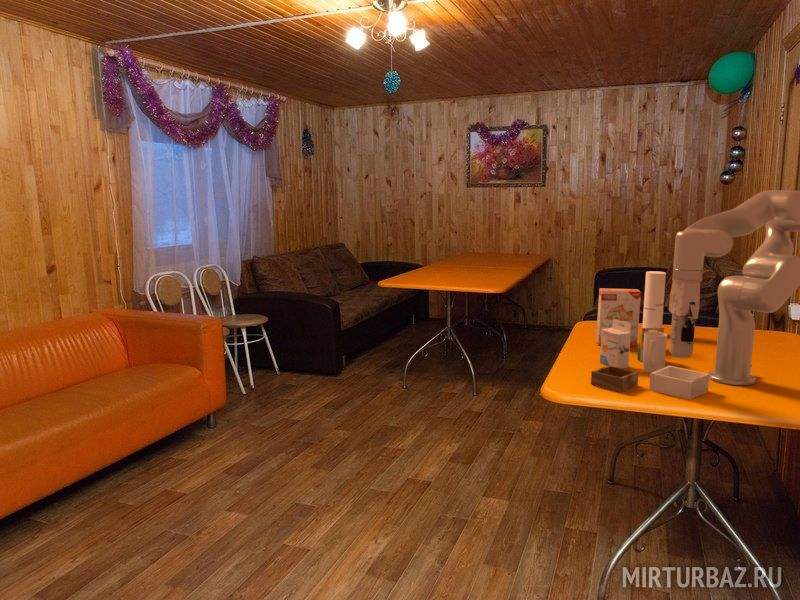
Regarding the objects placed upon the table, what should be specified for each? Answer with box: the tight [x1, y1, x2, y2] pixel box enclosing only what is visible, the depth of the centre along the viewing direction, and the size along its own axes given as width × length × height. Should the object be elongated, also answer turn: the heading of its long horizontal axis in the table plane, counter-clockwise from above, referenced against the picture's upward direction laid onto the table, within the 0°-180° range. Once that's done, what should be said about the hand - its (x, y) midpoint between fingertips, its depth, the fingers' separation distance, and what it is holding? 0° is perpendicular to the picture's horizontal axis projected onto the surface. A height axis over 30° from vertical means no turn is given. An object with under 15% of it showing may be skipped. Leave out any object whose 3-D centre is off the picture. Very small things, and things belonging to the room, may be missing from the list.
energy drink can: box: [669, 307, 696, 359], centre depth 173 cm, size 6×6×15 cm
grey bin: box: [648, 365, 710, 401], centre depth 175 cm, size 12×12×5 cm
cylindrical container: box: [641, 270, 667, 332], centre depth 242 cm, size 7×7×25 cm
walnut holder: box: [590, 365, 639, 393], centre depth 181 cm, size 10×10×4 cm
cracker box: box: [595, 287, 642, 348], centre depth 227 cm, size 14×6×21 cm, turn 81°
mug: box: [642, 332, 668, 373], centre depth 193 cm, size 10×7×12 cm, turn 146°
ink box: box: [599, 319, 631, 369], centre depth 200 cm, size 8×5×15 cm, turn 25°
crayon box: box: [637, 327, 665, 363], centre depth 206 cm, size 7×3×12 cm, turn 89°
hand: (682, 338), depth 173 cm, fingers closed on energy drink can, 6 cm apart
